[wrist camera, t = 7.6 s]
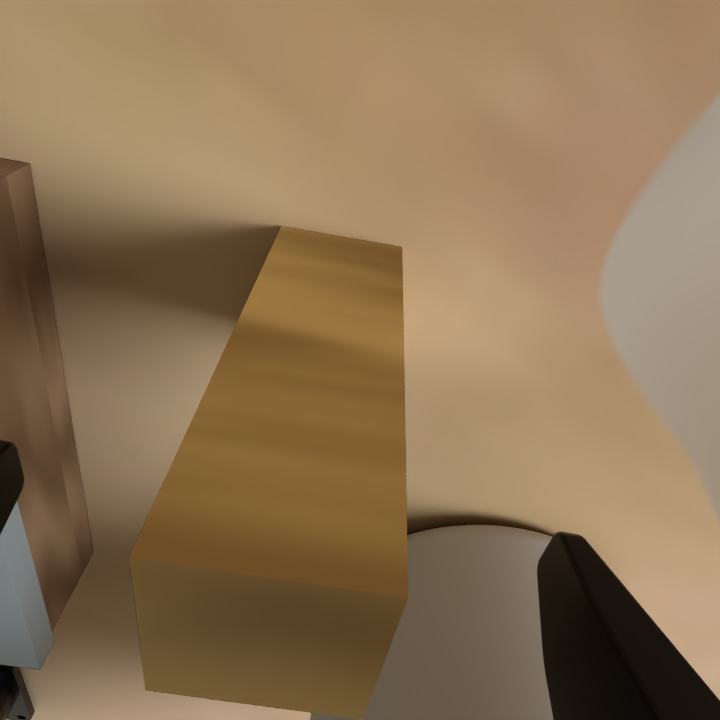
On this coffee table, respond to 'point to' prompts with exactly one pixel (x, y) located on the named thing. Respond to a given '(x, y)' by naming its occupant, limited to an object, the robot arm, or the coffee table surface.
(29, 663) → the grey plate with hole
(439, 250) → the coffee table surface
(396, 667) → the cylinder vase
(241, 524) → the golden wooden block
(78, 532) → the brown open tray
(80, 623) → the coffee table surface
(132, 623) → the coffee table surface
